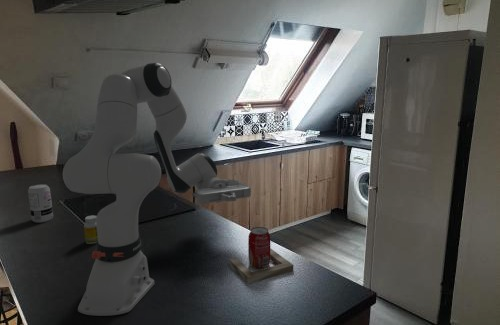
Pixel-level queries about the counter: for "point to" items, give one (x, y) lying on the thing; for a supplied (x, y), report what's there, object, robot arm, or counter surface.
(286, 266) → the birch bay
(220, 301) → the counter surface
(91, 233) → the supplement bottle
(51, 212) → the supplement can
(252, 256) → the soda can
